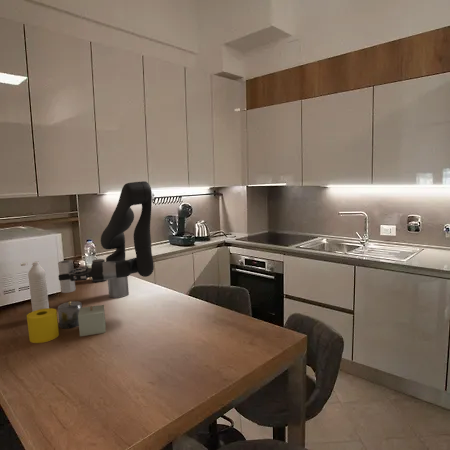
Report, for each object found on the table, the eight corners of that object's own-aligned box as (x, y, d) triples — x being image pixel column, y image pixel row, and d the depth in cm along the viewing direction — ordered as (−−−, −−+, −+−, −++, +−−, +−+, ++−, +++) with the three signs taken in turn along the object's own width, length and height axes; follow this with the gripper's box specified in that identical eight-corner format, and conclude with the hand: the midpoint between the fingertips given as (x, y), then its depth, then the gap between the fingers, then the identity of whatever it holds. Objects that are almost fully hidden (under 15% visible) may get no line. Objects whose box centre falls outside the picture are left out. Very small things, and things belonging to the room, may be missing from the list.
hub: (82, 318, 152) (80, 296, 151) (84, 325, 144) (82, 302, 143) (59, 322, 148) (56, 300, 147) (60, 330, 140) (57, 307, 139)
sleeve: (76, 288, 148) (73, 259, 146) (74, 291, 143) (71, 262, 141) (62, 289, 146) (59, 261, 145) (60, 293, 141) (57, 263, 140)
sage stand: (105, 323, 145) (103, 301, 144) (105, 332, 137) (103, 308, 136) (81, 327, 143) (79, 304, 141) (79, 336, 134) (77, 312, 133)
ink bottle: (88, 282, 206) (86, 262, 204) (97, 278, 215) (95, 258, 213) (103, 282, 204) (101, 262, 202) (111, 278, 212) (110, 258, 211)
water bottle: (50, 314, 158) (44, 259, 155) (50, 319, 152) (44, 262, 149) (27, 318, 154) (21, 261, 151) (26, 323, 148) (20, 265, 145)
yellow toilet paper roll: (64, 332, 138) (62, 309, 137) (45, 344, 129) (42, 319, 128) (43, 330, 141) (41, 307, 140) (23, 341, 132) (20, 317, 130)
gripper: (103, 258, 154) (61, 262, 149) (103, 265, 140) (56, 271, 135) (105, 275, 155) (63, 280, 150) (104, 284, 141) (58, 290, 136)
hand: (59, 275), depth 143 cm, fingers closed on sleeve, 5 cm apart
